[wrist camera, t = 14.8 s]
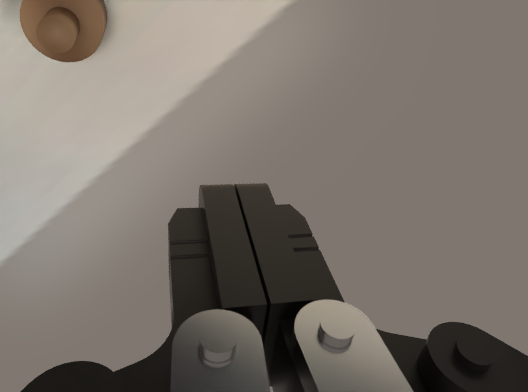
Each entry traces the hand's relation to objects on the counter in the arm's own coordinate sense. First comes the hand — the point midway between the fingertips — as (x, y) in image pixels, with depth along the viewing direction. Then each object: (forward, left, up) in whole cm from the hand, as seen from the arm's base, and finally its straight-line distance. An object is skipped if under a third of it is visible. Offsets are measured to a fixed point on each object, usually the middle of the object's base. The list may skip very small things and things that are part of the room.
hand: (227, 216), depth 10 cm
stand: (+8, +3, -32) cm, 33 cm away
